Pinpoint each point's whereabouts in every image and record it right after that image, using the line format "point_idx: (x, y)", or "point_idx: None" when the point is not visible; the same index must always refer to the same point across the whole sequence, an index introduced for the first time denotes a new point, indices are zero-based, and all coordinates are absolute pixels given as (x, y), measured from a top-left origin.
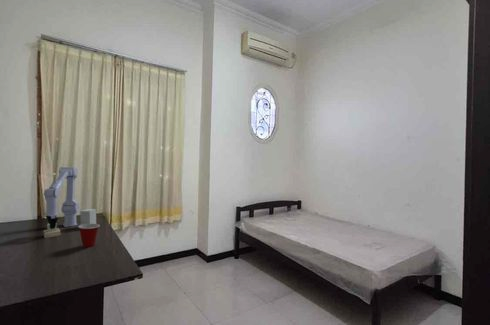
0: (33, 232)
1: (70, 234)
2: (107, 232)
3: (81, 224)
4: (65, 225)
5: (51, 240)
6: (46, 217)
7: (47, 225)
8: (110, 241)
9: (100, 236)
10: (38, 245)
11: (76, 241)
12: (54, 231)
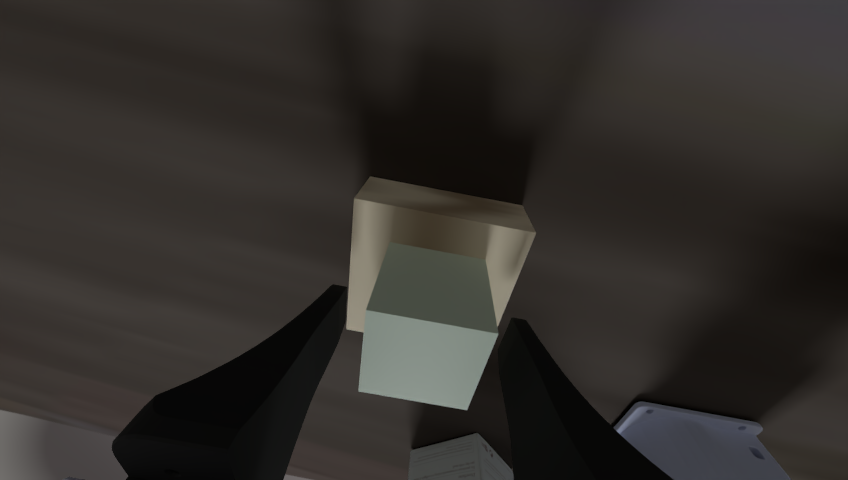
0: (805, 160)
1: None
2: None
3: (469, 469)
4: (668, 417)
5: (222, 193)
6: (593, 472)
7: (478, 309)
8: (10, 396)
9: None
10: (65, 31)
11: (84, 303)
12: (367, 291)
